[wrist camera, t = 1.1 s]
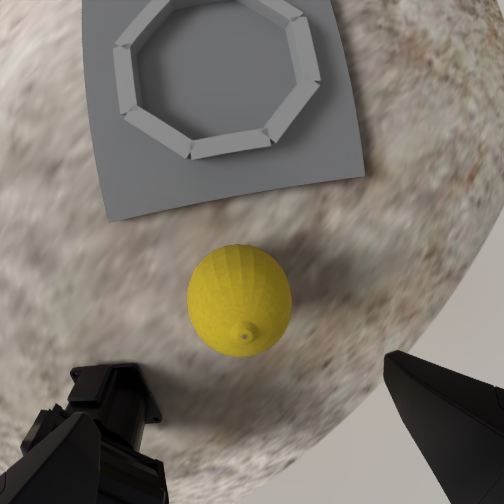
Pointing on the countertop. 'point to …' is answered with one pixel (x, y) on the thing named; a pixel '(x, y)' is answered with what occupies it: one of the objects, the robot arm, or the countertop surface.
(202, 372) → the countertop surface
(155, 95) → the ring plate
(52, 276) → the countertop surface
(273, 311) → the lemon
